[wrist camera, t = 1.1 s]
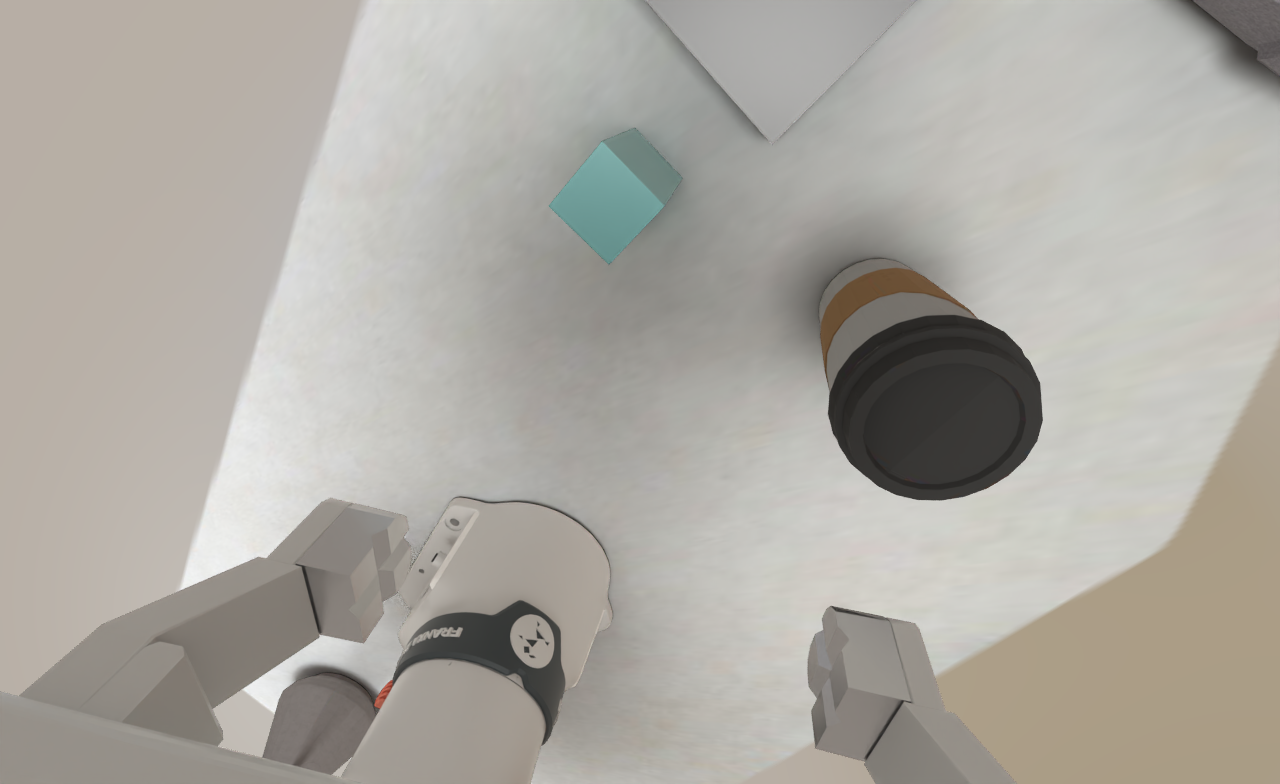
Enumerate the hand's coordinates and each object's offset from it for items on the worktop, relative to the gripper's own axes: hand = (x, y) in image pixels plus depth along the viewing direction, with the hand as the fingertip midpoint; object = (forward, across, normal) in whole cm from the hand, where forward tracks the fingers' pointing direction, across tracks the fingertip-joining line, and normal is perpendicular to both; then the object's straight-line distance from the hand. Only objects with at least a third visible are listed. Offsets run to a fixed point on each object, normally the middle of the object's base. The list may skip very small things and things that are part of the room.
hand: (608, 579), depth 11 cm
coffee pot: (+28, +30, +57) cm, 70 cm away
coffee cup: (+29, -11, +3) cm, 31 cm away
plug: (+29, +4, -2) cm, 29 cm away
